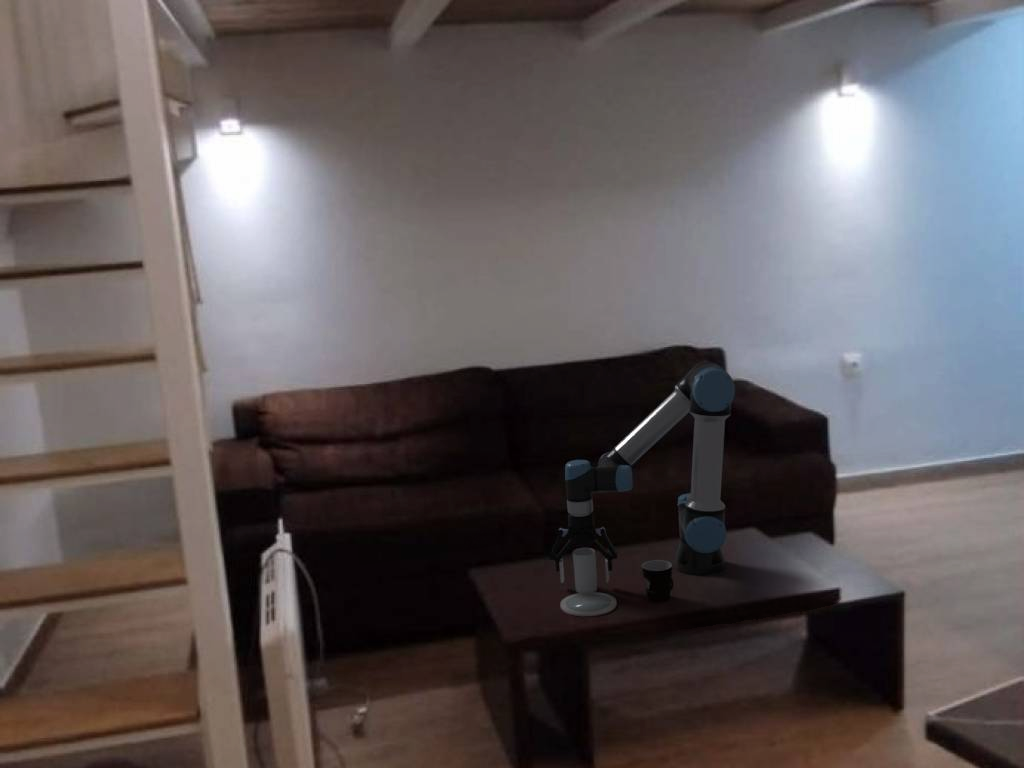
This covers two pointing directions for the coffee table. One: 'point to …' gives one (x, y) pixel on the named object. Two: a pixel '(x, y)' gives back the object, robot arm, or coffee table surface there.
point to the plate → (588, 604)
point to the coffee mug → (658, 580)
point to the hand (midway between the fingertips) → (585, 581)
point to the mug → (585, 570)
